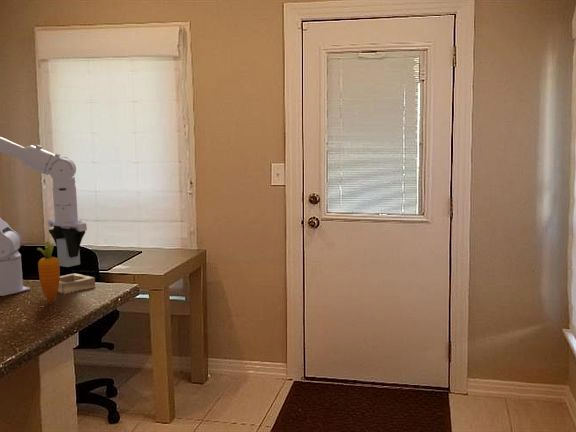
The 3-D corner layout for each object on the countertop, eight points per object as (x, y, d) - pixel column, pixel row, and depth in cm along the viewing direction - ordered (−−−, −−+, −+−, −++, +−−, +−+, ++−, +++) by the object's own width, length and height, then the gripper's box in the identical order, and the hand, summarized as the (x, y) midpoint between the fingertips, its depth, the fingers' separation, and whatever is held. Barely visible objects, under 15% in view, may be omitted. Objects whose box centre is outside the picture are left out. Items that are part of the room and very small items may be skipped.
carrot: (55, 306, 154) (51, 244, 152) (36, 305, 155) (32, 244, 153) (66, 301, 159) (62, 241, 157) (47, 300, 160) (43, 240, 158)
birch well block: (45, 288, 171) (45, 279, 171) (75, 282, 178) (74, 273, 178) (65, 294, 165) (64, 284, 165) (95, 286, 172) (94, 277, 172)
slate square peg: (58, 265, 170) (56, 239, 169) (71, 262, 174) (69, 236, 173) (67, 267, 168) (65, 240, 167) (80, 264, 171) (78, 238, 170)
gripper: (95, 204, 167) (98, 256, 169) (62, 201, 176) (65, 250, 178) (71, 207, 162) (74, 261, 164) (39, 203, 170) (42, 254, 172)
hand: (68, 255), depth 170 cm, fingers closed on slate square peg, 4 cm apart
